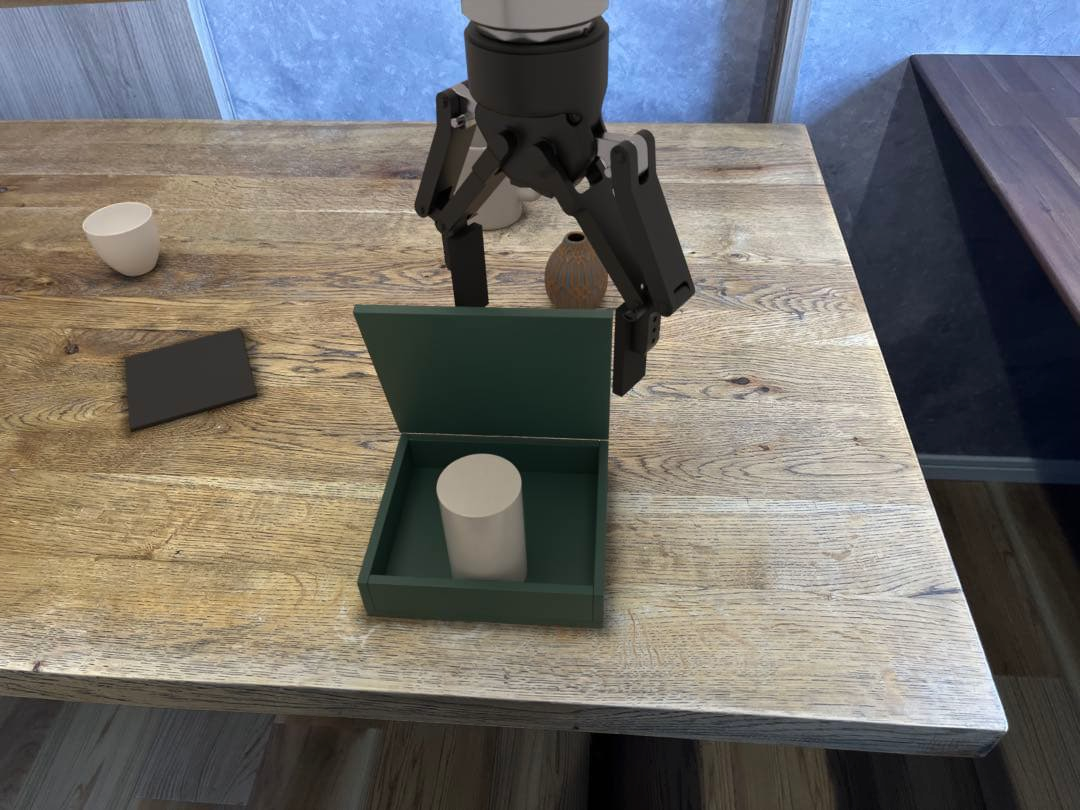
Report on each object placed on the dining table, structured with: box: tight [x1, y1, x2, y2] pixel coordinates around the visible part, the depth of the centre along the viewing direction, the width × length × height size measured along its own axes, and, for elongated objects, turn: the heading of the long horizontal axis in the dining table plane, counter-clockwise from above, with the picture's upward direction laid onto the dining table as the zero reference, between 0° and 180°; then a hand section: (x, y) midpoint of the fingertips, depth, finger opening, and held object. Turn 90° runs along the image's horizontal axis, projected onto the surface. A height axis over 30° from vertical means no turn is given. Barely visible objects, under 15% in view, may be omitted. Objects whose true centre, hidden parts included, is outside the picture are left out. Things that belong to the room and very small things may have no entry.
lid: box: [352, 303, 614, 441], centre depth 63 cm, size 16×18×1 cm
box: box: [356, 433, 610, 629], centre depth 66 cm, size 16×18×4 cm
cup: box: [81, 201, 161, 277], centre depth 99 cm, size 8×10×7 cm
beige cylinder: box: [436, 454, 528, 582], centre depth 61 cm, size 6×6×10 cm
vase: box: [543, 230, 609, 309], centre depth 88 cm, size 7×7×9 cm
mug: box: [454, 126, 543, 231], centre depth 103 cm, size 12×8×11 cm
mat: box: [124, 327, 258, 432], centre depth 84 cm, size 12×12×1 cm
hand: (546, 345), depth 56 cm, fingers open, 13 cm apart
